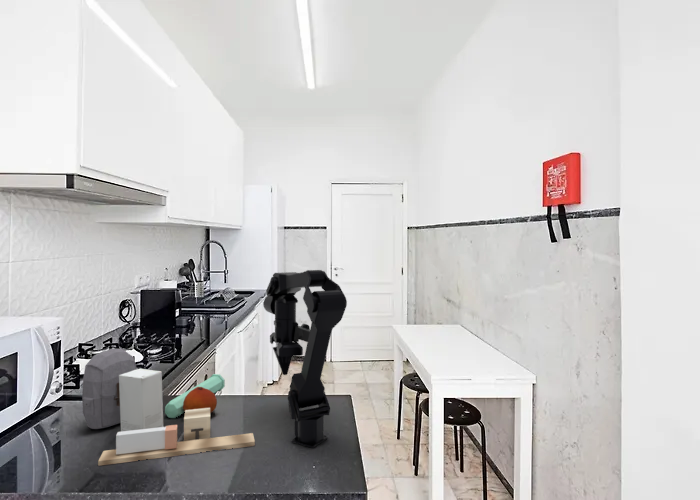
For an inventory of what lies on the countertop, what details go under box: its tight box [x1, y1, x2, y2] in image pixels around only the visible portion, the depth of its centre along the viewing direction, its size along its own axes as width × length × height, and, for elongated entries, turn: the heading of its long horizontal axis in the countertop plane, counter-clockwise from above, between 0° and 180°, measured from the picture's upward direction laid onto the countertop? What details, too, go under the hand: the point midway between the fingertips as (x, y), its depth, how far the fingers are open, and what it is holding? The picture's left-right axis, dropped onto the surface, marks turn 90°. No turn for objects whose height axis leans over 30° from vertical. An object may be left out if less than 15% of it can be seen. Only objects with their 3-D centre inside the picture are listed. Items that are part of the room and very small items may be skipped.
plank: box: [97, 432, 256, 467], centre depth 102 cm, size 33×5×1 cm, turn 108°
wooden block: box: [183, 408, 211, 441], centre depth 109 cm, size 6×6×6 cm
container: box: [164, 373, 226, 419], centre depth 132 cm, size 6×6×25 cm
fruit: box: [183, 387, 218, 414], centre depth 123 cm, size 9×9×8 cm
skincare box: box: [119, 368, 164, 432], centre depth 110 cm, size 8×7×16 cm
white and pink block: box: [115, 424, 178, 455], centre depth 100 cm, size 12×3×4 cm, turn 108°
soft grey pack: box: [81, 348, 138, 430], centre depth 117 cm, size 15×8×20 cm, turn 156°
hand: (285, 374), depth 122 cm, fingers closed
